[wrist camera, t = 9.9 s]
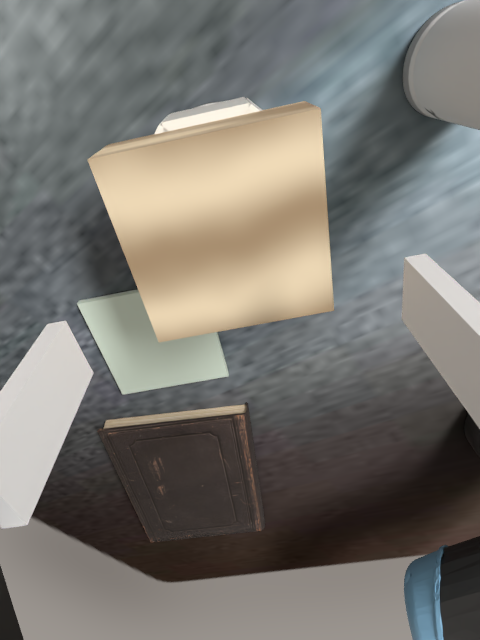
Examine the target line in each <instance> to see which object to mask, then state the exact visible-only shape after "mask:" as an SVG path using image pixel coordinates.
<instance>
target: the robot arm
mask: <svg viewBox="0 0 480 640" xmlns="http://www.w3.org/2000/svg"><path fill="white" fill-rule="evenodd" d="M402 320H403V322H404V323H405V325H406V326H407V327H408V329H409V330H410V332H411V333H412V334H413V336H414V337H415V339H416V340H417V341H418V343H419V344H420V346H421V347H422V348H423V350H424V351H425V353H426V354H427V356H428V357H429V358H430V360H431V361H432V363H433V364H434V365H435V367H436V368H437V370H438V371H439V372H440V374H441V375H442V377H443V378H444V379H445V381H446V382H447V384H448V385H449V386H450V388H451V389H452V391H453V392H454V394H455V395H456V396H457V398H458V399H459V401H460V402H461V403H462V405H463V406H464V408H465V409H466V410H467V412H468V415H467V417H466V420H465V425H464V432H465V436H466V438H467V440H468V442H469V443H470V445H471V446H472V448H473V449H474V451H475V452H476V454H477V455H478V456H479V457H480V303H479V302H478V301H477V300H476V299H475V298H474V297H473V296H472V295H471V294H469V293H468V292H467V291H466V290H465V289H464V288H463V287H462V286H461V285H460V284H458V283H457V282H456V281H455V280H454V279H453V278H452V277H451V276H450V275H449V274H448V273H446V272H445V271H444V270H443V269H442V268H441V267H440V266H439V265H438V264H437V263H435V262H434V261H433V260H432V259H431V258H430V257H429V256H428V255H427V254H421V255H415V256H410V257H405V258H404V279H403V302H402ZM92 375H93V371H92V370H91V368H90V366H89V364H88V362H87V360H86V358H85V356H84V354H83V352H82V351H81V349H80V347H79V345H78V343H77V341H76V339H75V337H74V335H73V333H72V332H71V330H70V328H69V326H68V324H67V322H66V321H62V322H56V323H51V324H47V325H46V327H45V328H44V330H43V331H42V333H41V334H40V335H39V337H38V338H37V340H36V341H35V343H34V344H33V345H32V347H31V348H30V350H29V351H28V353H27V354H26V355H25V357H24V358H23V360H22V361H21V363H20V364H19V365H18V367H17V368H16V370H15V371H14V373H13V374H12V375H11V377H10V378H9V380H8V381H7V383H6V384H5V385H4V387H3V388H2V390H1V391H0V527H1V528H2V529H5V528H12V527H18V526H26V525H28V523H29V520H30V518H31V516H32V513H33V511H34V509H35V507H36V504H37V502H38V500H39V497H40V495H41V493H42V490H43V488H44V486H45V484H46V481H47V479H48V477H49V474H50V472H51V470H52V467H53V465H54V463H55V461H56V458H57V456H58V454H59V451H60V449H61V447H62V444H63V442H64V440H65V437H66V435H67V433H68V431H69V428H70V426H71V424H72V421H73V419H74V417H75V414H76V412H77V410H78V408H79V405H80V403H81V401H82V398H83V396H84V394H85V391H86V389H87V387H88V384H89V382H90V380H91V378H92ZM404 595H405V604H406V611H407V616H408V621H409V626H410V630H411V634H412V638H413V640H480V536H479V537H476V538H473V539H470V540H467V541H464V542H461V543H458V544H455V545H452V546H447V545H444V546H441V547H440V548H439V550H437V551H435V552H433V553H430V554H428V555H425V556H423V557H421V558H418V559H416V560H414V561H413V562H412V563H411V564H410V565H409V566H408V568H407V570H406V574H405V579H404ZM0 640H23V636H22V633H21V630H20V627H19V624H18V620H17V617H16V614H15V611H14V608H13V605H12V602H11V598H10V595H9V592H8V589H7V586H6V582H5V579H4V576H3V573H2V569H1V566H0Z"/></svg>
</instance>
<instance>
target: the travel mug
mask: <svg viewBox="0 0 480 640" xmlns="http://www.w3.org/2000/svg"><path fill="white" fill-rule="evenodd" d="M403 86H404V91H405V94H406V97H407V99H408V101H409V103H410V104H411V106H412V107H413V108H414V109H415V110H416V111H417V112H419V113H421V114H422V115H424V116H428V117H431V118H435V119H439V120H443V121H447V122H451V123H454V124H458V125H462V126H466V127H470V128H474V129H478V130H480V0H466V1H462V2H458V3H454V4H451V5H449V6H447V7H445V8H442V9H441V10H440V11H438V12H437V13H435V14H434V15H433V16H431V17H430V18H429V19H428V20H427V21H426V22H425V23H424V24H423V26H422V27H421V28H420V30H419V31H418V32H417V34H416V35H415V37H414V39H413V41H412V42H411V44H410V46H409V49H408V52H407V54H406V57H405V62H404V67H403Z"/></svg>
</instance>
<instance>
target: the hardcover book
mask: <svg viewBox="0 0 480 640" xmlns="http://www.w3.org/2000/svg"><path fill="white" fill-rule="evenodd" d="M98 433H99V435H100V437H101V439H102V442H103V444H104V446H105V448H106V450H107V452H108V454H109V456H110V458H111V460H112V463H113V465H114V467H115V469H116V471H117V473H118V475H119V477H120V479H121V481H122V483H123V486H124V488H125V490H126V492H127V494H128V496H129V498H130V500H131V502H132V504H133V507H134V509H135V511H136V513H137V515H138V517H139V519H140V521H141V523H142V525H143V528H144V530H145V532H146V534H147V536H148V538H149V540H150V542H159V541H168V540H178V539H187V538H197V537H206V536H216V535H225V534H235V533H245V532H254V531H261V530H263V529H264V527H265V519H264V512H263V505H262V498H261V491H260V484H259V477H258V470H257V463H256V456H255V449H254V443H253V436H252V429H251V422H250V415H249V408H248V403H246V405H237V406H228V407H219V408H210V409H201V410H192V411H183V412H174V413H165V414H156V415H147V416H139V417H130V418H121V419H112V420H106V421H105V425H104V428H103V429H98Z"/></svg>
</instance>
